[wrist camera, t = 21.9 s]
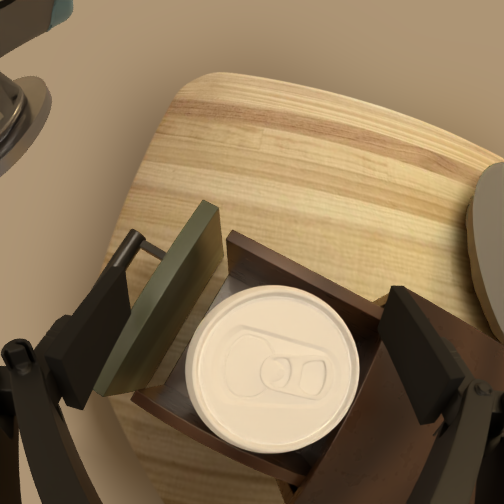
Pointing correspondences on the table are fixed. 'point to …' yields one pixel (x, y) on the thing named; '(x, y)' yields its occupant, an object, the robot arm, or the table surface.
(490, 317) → the flat disc
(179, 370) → the drawer
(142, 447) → the table surface
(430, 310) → the cabinet
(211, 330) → the beverage can
